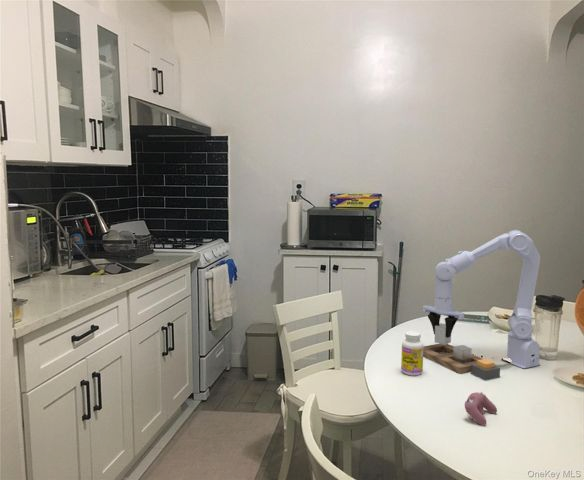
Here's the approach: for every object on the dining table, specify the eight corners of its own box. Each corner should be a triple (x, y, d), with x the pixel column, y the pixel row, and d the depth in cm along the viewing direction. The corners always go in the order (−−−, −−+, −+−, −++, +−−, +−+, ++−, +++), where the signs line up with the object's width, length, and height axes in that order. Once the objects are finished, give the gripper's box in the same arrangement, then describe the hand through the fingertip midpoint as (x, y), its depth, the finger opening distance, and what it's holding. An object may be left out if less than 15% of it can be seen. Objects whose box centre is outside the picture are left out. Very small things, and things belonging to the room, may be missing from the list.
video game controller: (483, 414, 136) (472, 389, 137) (499, 411, 133) (488, 386, 135) (470, 428, 129) (458, 402, 130) (486, 426, 126) (475, 398, 127)
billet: (471, 366, 167) (471, 348, 167) (461, 367, 166) (462, 350, 165) (462, 362, 171) (462, 344, 170) (453, 363, 169) (453, 346, 169)
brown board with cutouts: (490, 367, 166) (490, 361, 165) (459, 374, 160) (460, 368, 160) (444, 347, 185) (444, 342, 185) (416, 353, 180) (416, 347, 180)
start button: (494, 371, 158) (494, 362, 158) (485, 373, 157) (485, 364, 156) (485, 367, 161) (485, 358, 161) (476, 369, 160) (477, 360, 160)
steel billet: (450, 342, 177) (451, 325, 176) (445, 344, 174) (445, 327, 173) (440, 339, 180) (440, 323, 179) (434, 342, 177) (435, 325, 176)
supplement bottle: (398, 374, 161) (399, 334, 159) (404, 367, 167) (405, 329, 165) (419, 377, 158) (420, 337, 156) (424, 370, 164) (425, 331, 162)
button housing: (499, 377, 158) (500, 367, 157) (485, 380, 155) (485, 370, 155) (485, 370, 163) (485, 361, 163) (470, 373, 161) (471, 364, 160)
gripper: (468, 298, 172) (467, 337, 174) (430, 292, 183) (429, 328, 184) (458, 302, 167) (457, 342, 169) (420, 295, 178) (419, 332, 179)
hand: (442, 335), depth 176 cm, fingers closed on steel billet, 4 cm apart
